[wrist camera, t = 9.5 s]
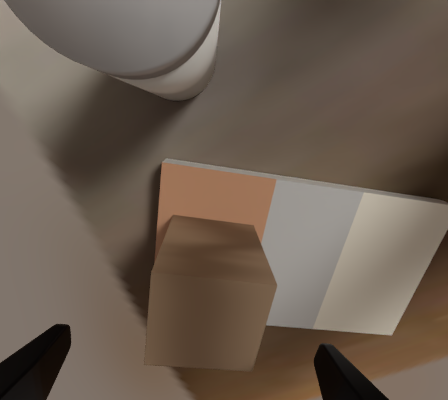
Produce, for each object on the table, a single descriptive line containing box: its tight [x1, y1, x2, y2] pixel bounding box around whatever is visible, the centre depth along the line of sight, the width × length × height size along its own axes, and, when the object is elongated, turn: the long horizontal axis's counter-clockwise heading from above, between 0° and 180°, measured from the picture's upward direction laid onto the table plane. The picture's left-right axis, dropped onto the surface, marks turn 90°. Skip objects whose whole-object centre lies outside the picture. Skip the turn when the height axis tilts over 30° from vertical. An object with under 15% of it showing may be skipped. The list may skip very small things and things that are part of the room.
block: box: [144, 215, 277, 372], centre depth 11 cm, size 4×4×5 cm
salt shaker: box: [4, 0, 221, 101], centre depth 7 cm, size 4×4×8 cm
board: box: [154, 158, 448, 335], centre depth 15 cm, size 17×10×1 cm, turn 81°
